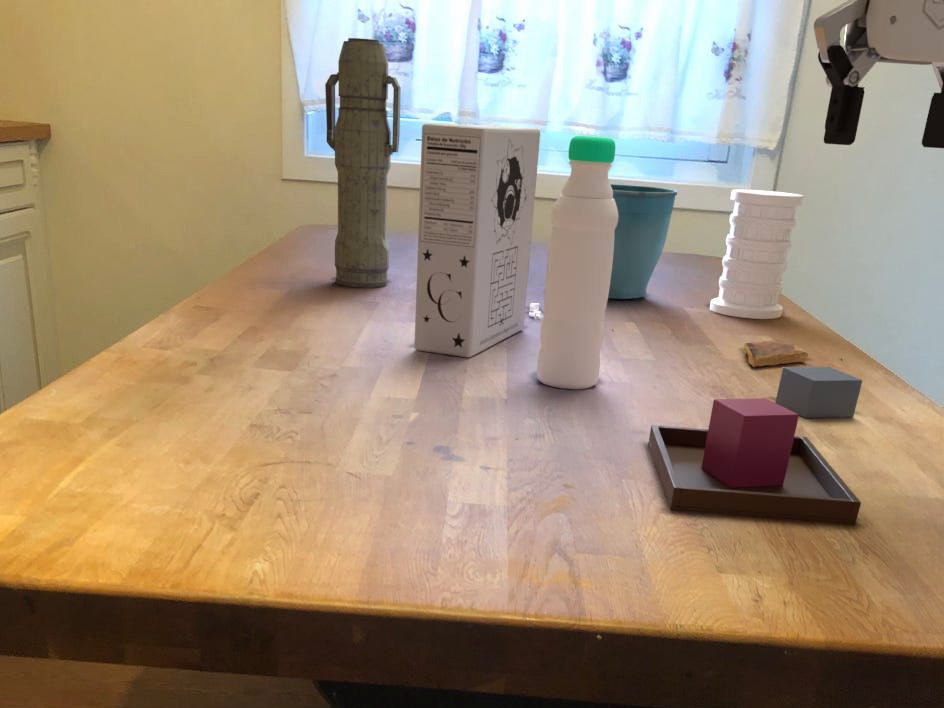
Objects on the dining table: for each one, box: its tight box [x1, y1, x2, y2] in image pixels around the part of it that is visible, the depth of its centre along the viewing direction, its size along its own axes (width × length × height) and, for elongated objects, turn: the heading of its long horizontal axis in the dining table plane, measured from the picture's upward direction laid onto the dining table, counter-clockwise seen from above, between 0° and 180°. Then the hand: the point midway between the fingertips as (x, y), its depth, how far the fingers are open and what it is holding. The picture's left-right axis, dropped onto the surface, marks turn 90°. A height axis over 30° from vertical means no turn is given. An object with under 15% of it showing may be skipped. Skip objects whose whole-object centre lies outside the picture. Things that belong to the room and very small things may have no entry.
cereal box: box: [414, 123, 541, 359], centre depth 124 cm, size 22×8×25 cm, turn 159°
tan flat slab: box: [743, 339, 809, 368], centre depth 129 cm, size 11×8×2 cm
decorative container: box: [709, 188, 804, 320], centre depth 158 cm, size 12×12×18 cm
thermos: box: [324, 37, 402, 289], centre depth 156 cm, size 9×12×35 cm
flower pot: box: [608, 183, 678, 300], centre depth 166 cm, size 18×18×17 cm
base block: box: [774, 366, 863, 419], centre depth 107 cm, size 6×6×4 cm
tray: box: [647, 424, 862, 526], centre depth 83 cm, size 14×17×2 cm
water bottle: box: [536, 135, 618, 390], centre depth 106 cm, size 7×7×25 cm
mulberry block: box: [702, 397, 800, 488], centre depth 82 cm, size 5×5×6 cm
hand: (888, 145), depth 80 cm, fingers open, 9 cm apart
